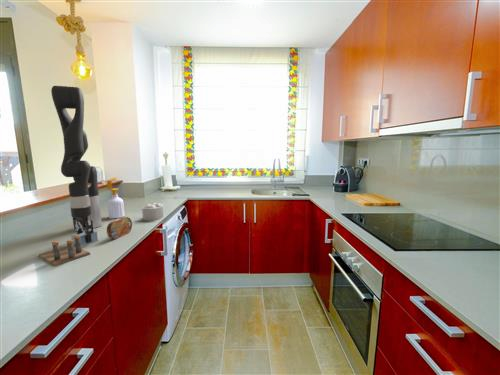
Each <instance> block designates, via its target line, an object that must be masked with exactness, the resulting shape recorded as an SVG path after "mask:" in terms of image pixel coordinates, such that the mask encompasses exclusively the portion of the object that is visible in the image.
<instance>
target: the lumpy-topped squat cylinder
mask: <svg viewBox="0 0 500 375" xmlns="http://www.w3.org/2000/svg"><path fill="white" fill-rule="evenodd" d="M141 211H142V212H141V213H142V220H143V221H151V222H152V221H153V222H154V221H157V220H160V219H162V218H164V216H165V214H164V204H162V203H159V202H158V203H157V202H154V203H152V204H151V203H146V204H145V206H142V207H141Z"/></svg>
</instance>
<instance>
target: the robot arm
mask: <svg viewBox="0 0 500 375" xmlns="http://www.w3.org/2000/svg"><path fill="white" fill-rule="evenodd" d="M50 90H51V92H50V93H51V98H52V101H53V104H54V107H55V110H56V114H57V116H58V119H59V123H60V126H61V132H62V135H63V146H64V148H63V149H64V153H63V158H62V162H61V166H60V172H61V174H62V175H63V176H64V177H65V178H73V181H74V182H71V183H69V184H68V194H69V207H70V214H71V215H70V216H71V218H72V223H73V224H72V225H73V230H75V232H76V234H80V233H84V234H85V240H86V243H88V244H91V243H93V242H92V239H91V234H92V233H94V231H95V230H94V228H98V227H101V226H103V222H102V221H103V220H102V211H101V210H102V209H101V203H100V201H101V200H100V194H99V193H100V192H99V184H98V182H99V181H98V170H97V168H96V167H95V166H93V165H90V162H89V161H87V160H81V159H82V158H83V157H84V155H85V153H86V152H87V150H88V148H89V142H88V136H87V133H86V132H85V130H84V118H85V116H84V114H85V99H84V94H83V91H82V89H81V88H80V87H77V86H65V85H53V86H51V89H50ZM67 109H70V110H71V109H72V110H73V109H74V110H75V111H74V116H73V118H72V117H71V115H70V113H69V112H68V110H67ZM89 184H90V185H89ZM90 242H91V243H90Z"/></svg>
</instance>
